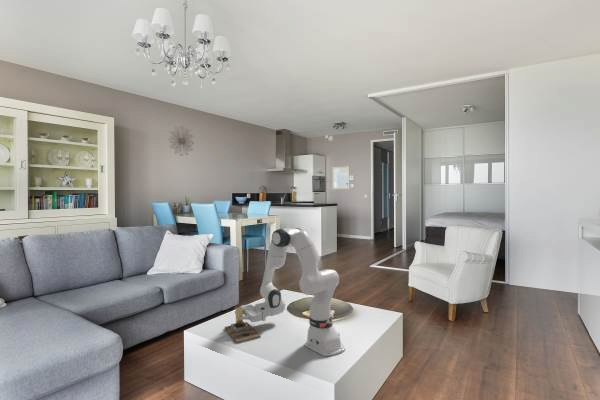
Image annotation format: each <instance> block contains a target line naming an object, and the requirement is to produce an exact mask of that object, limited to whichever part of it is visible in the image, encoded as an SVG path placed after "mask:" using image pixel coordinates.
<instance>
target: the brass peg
mask: <svg viewBox="0 0 600 400" xmlns="http://www.w3.org/2000/svg"><path fill="white" fill-rule="evenodd" d="M235 311H236V314H235V323H236V328H239V327H243V322H244V320H241V319H240V316H244V314H243V312H242V308H241V307H236V308H235Z"/></svg>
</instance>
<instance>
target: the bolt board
mask: <svg viewBox="0 0 600 400" xmlns="http://www.w3.org/2000/svg"><path fill="white" fill-rule="evenodd" d="M224 330H225V331H226V333H227V334H228V335H229V337H231V339H232V340H233V341H234V342H235V343H236V344H241V343H244V342H245V343H246V342H248V341H252V340H256V339H260V338H261V334H260V333H259V332H258V331H257V330H256V329H255V328H254V327H253V326H252V325H250V324H249V323H248V322H247V321H243V327H239V328H236V322H235V323H231V324H230V325H227V326H226V325H225V326H224Z"/></svg>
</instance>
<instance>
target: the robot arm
mask: <svg viewBox="0 0 600 400" xmlns="http://www.w3.org/2000/svg"><path fill="white" fill-rule="evenodd" d="M292 247H293V248H294V251H295V252H296V255H297V257H298V260H299V263H300V265H301V270H302V273H301V278H300V279H299V286H298V287H299V289H300V291H301V292H302V293H303V294H304V295H306V296H308V295H311V296H312V295H313V298H312V299H311V300H310V304H309V318H308V321H309V322H308V323H309V327H308V329H307V336H306V342H305V345H304V346H305V347H306V348H308V349H310V350H311V351H314V352H316V353H317V354H319V355H321V356H324V357H331V356H336V355H338V354H342V353H343V352H344V351H346V347H345V345H344V344H343V343H342V342H341V337H340V334H341V333H340V332H337V330H336V328H335V327H334V321H333V320H332V316H331V304H332V299H333V295H334V292H335V289H336V288H337V286H338V285H339V283H340V276H339V273H338V272H337V271H336V270H335V269H331V268H329V269H327V268H326V269H323V270H320V271H319V268H318V264H319V262H320V260H321V256H320V255H319V252H318V249H317V248H316V245H315V243H314V241H313V240H312V238H311V237H310V235H309V234H308V232H307V231H304V229H301V228H298V227H295V228H293V227H285V228H284V227H283V228H279V229H276V230H274V231H273V232H272V235H271V240H270V243H269V246H268V251H267V258H266V262H265V265H264V269H263V273H262V277H261V278H262V279H261V282H260V284H259V286H258V290H257V291H258V294H259V296H260V297H261V298H263V299H264V302H260V303H255V304H254V305H253V304H244V305H243V304H242V305H241V306H240V307H241V308H242V312H243V316H240V319H241V320H243V321H245V320H246V321H247V320H249V321H250V323H256V322H257V323H258V322H265V321H267V319H266V318H267V317H272V316H277V315H280V314H282V313H284V311H285V309H286V303H285V301H284V299H283V298H282V293H281V291H280V290H279V289H278V288H277V287H275V285H274V284H273V276H274V274H275V273H274V272H275V270H276V269H280V268H282V267H283V266H284V265H285V263H286V260H287V259H286V258H287V251H288V248H292ZM234 314H235V315H236V310H235V311H234Z"/></svg>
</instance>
